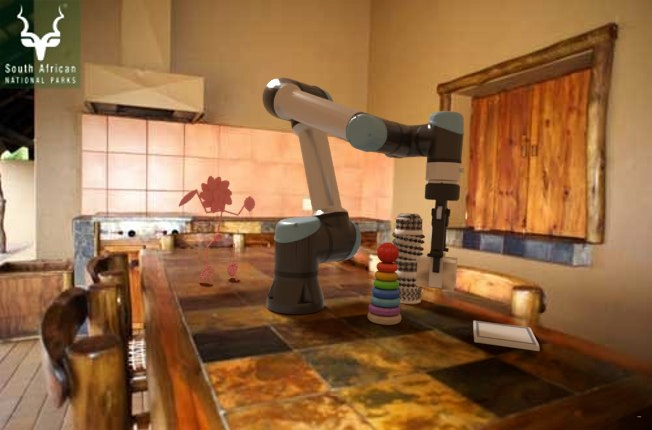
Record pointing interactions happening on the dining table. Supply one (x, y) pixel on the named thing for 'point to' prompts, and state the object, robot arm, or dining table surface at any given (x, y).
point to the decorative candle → (408, 255)
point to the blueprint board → (505, 335)
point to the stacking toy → (385, 288)
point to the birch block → (447, 275)
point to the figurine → (217, 198)
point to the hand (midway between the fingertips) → (436, 282)
